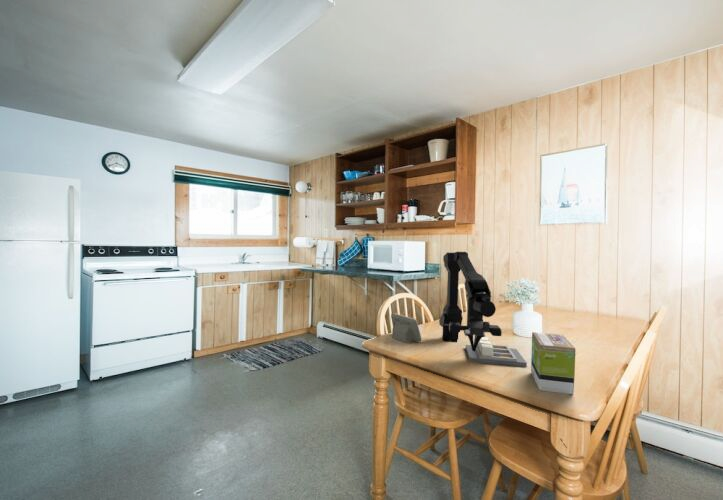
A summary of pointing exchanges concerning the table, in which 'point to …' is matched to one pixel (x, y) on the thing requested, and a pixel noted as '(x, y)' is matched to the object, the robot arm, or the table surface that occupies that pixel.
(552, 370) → the tea box
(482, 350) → the tab
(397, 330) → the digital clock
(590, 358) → the table surface
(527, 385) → the table surface
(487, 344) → the white cube block
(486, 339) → the tab
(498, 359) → the switch bank
